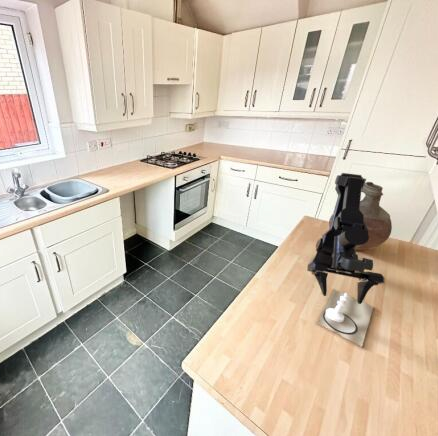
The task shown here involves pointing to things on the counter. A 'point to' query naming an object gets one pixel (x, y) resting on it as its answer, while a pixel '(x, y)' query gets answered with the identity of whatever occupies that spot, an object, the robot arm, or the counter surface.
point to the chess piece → (337, 310)
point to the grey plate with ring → (349, 319)
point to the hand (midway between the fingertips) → (341, 299)
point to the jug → (374, 216)
